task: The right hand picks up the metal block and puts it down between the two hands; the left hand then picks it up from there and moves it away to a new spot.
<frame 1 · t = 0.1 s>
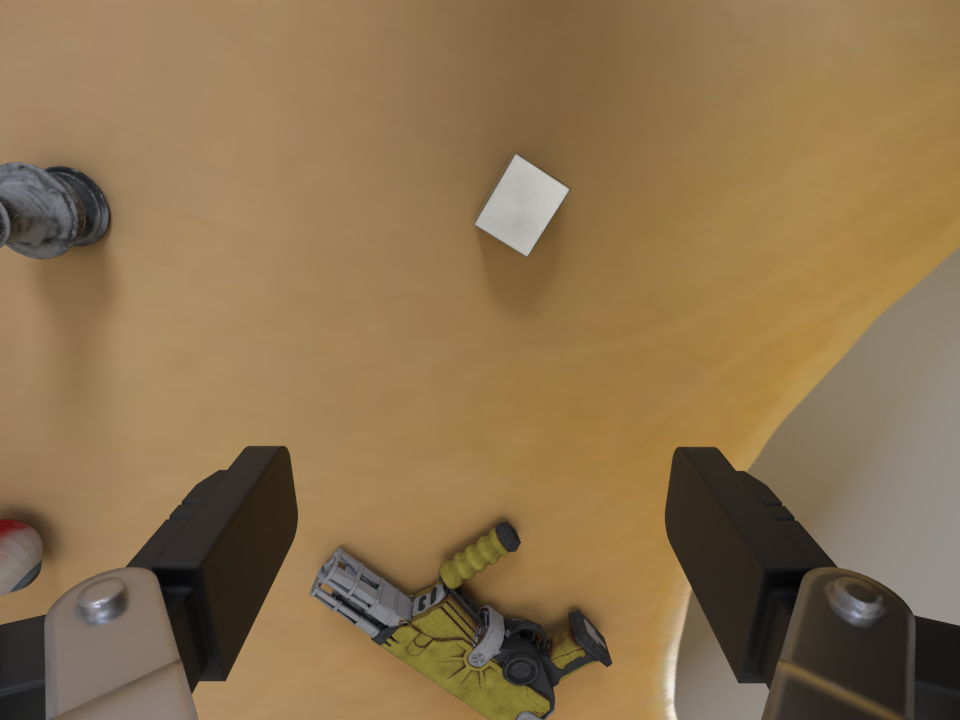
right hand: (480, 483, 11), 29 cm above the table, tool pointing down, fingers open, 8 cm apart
eyeball: (28, 533, 47), on the table
salt shaker: (71, 206, 38), on the table
block: (517, 201, 37), on the table
toy gun: (476, 586, 49), on the table
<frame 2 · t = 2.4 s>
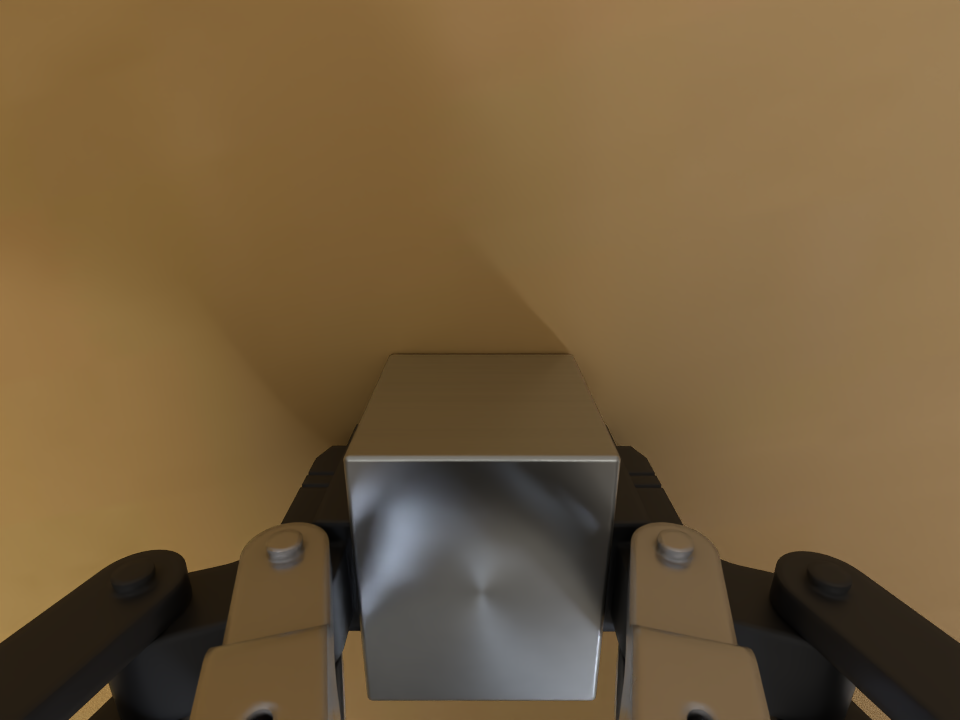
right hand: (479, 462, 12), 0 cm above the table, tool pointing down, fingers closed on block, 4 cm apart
block: (481, 452, 13), on the table, touching right hand
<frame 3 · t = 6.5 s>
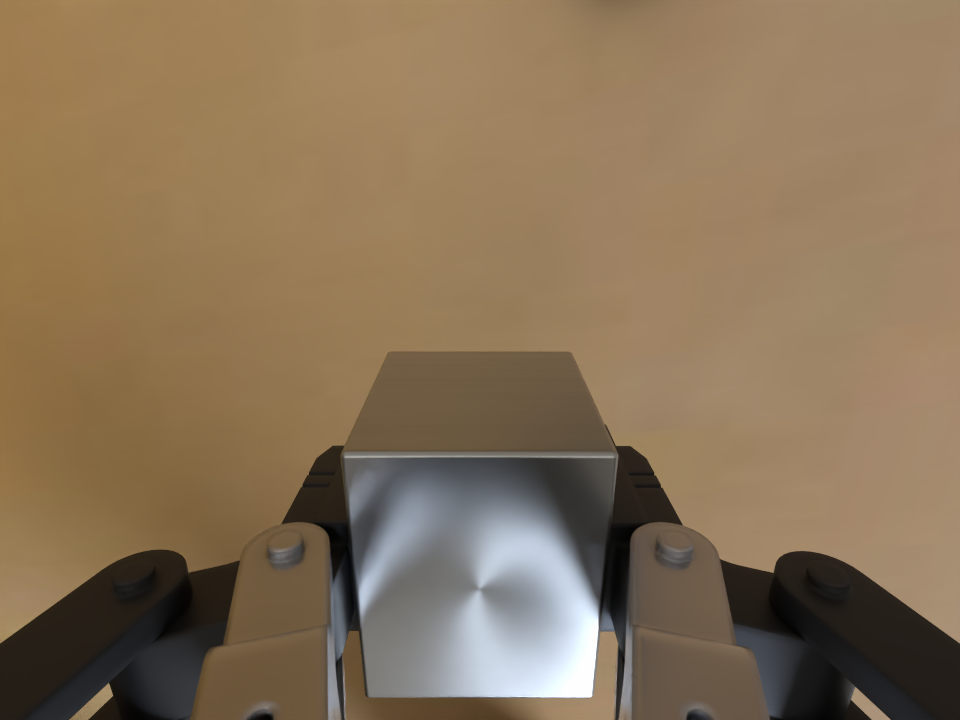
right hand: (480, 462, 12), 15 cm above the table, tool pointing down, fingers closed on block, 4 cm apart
block: (479, 449, 13), point 15 cm above the table, touching right hand
when the right hand's fingers open (1 cm above the table, at t = 10.9 s): block stays where it is, on the table.
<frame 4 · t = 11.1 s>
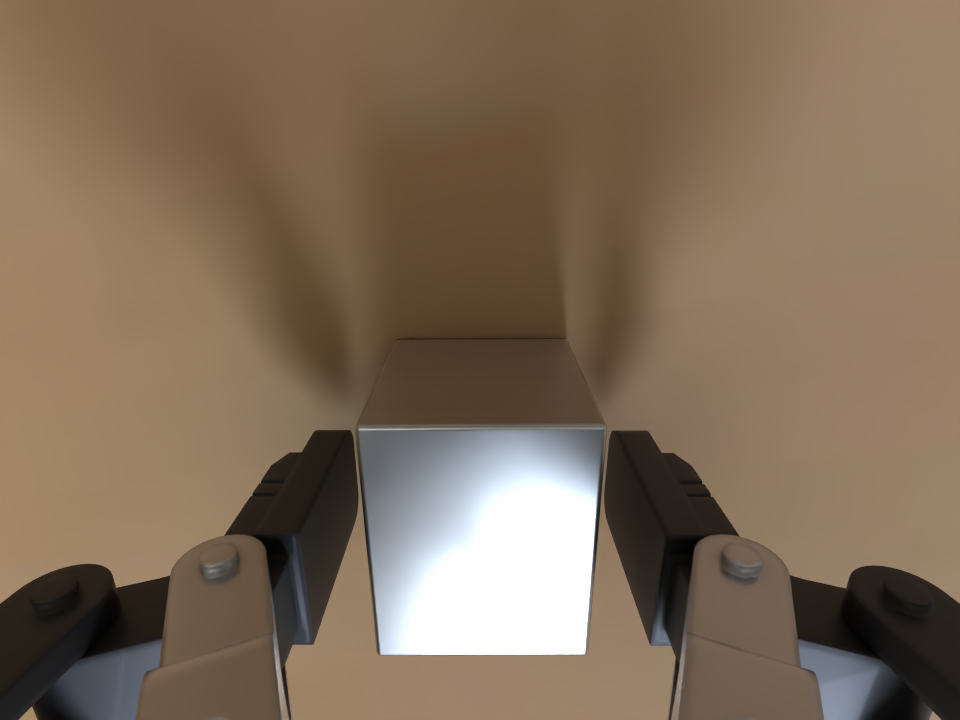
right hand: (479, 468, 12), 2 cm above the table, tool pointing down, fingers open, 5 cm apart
block: (481, 432, 13), on the table
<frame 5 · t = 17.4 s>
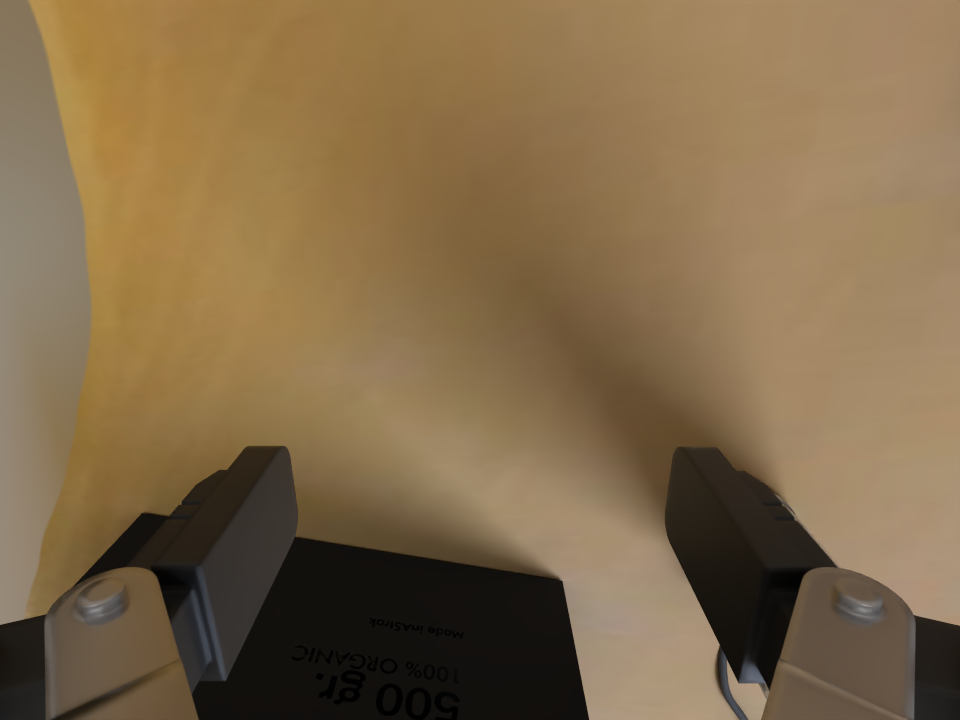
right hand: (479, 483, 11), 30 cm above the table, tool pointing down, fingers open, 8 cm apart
cardboard box: (345, 630, 52), on the table
when the left hand's fingers open (2 cm above the table, at t = 24.6 s): block stays where it is, on the table.
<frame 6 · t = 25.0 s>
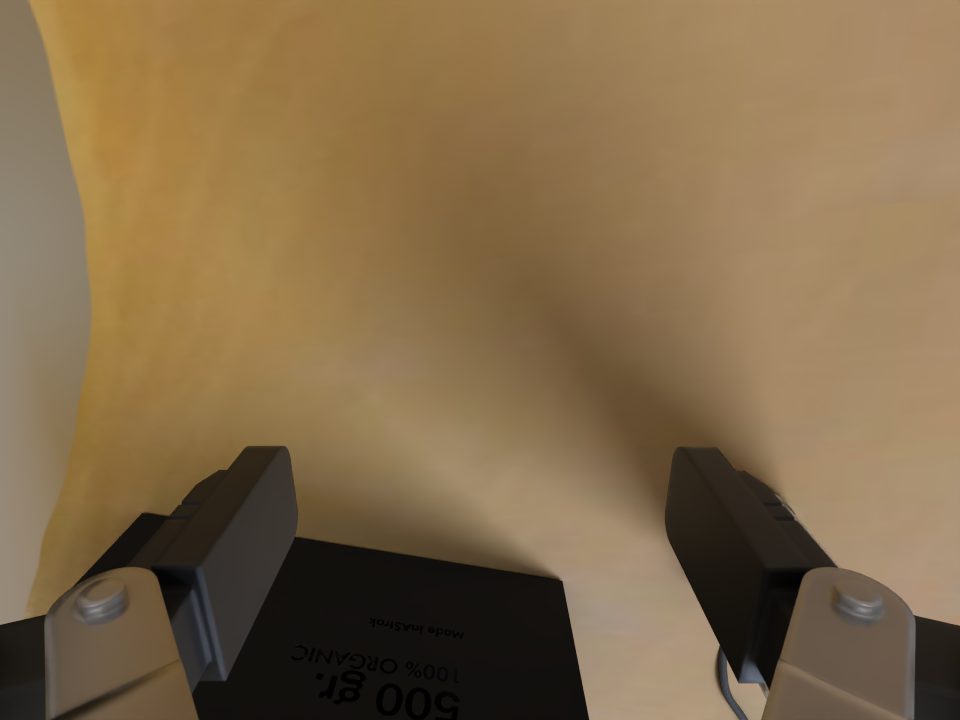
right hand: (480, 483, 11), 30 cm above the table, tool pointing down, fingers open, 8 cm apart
cardboard box: (345, 630, 52), on the table
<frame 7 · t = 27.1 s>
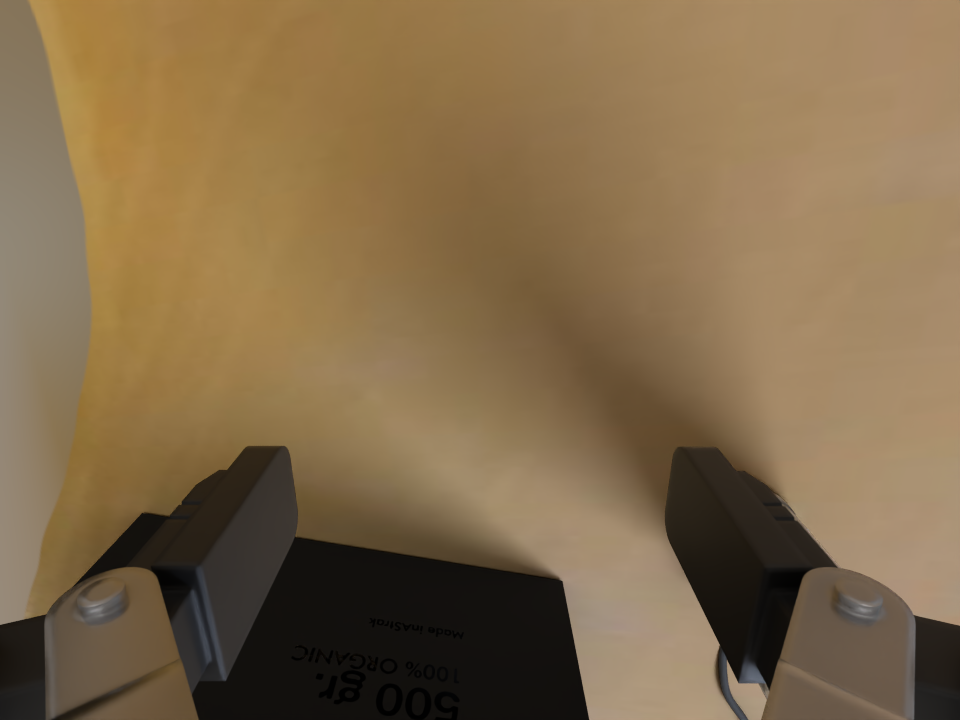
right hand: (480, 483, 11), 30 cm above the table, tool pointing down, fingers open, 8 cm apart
cardboard box: (345, 630, 52), on the table
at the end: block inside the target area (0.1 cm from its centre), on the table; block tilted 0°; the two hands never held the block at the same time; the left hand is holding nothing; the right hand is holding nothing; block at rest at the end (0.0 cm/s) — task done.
